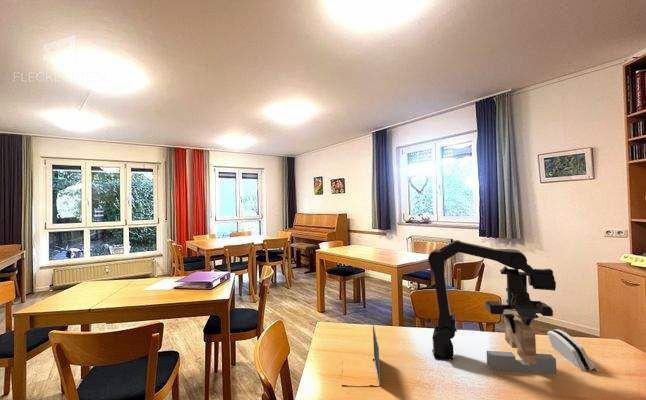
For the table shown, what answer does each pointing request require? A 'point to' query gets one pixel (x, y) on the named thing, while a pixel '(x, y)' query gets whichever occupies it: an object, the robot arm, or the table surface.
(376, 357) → the laptop
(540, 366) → the notched gray bar
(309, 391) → the table surface
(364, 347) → the table surface
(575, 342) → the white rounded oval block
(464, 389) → the table surface
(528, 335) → the walnut slat
